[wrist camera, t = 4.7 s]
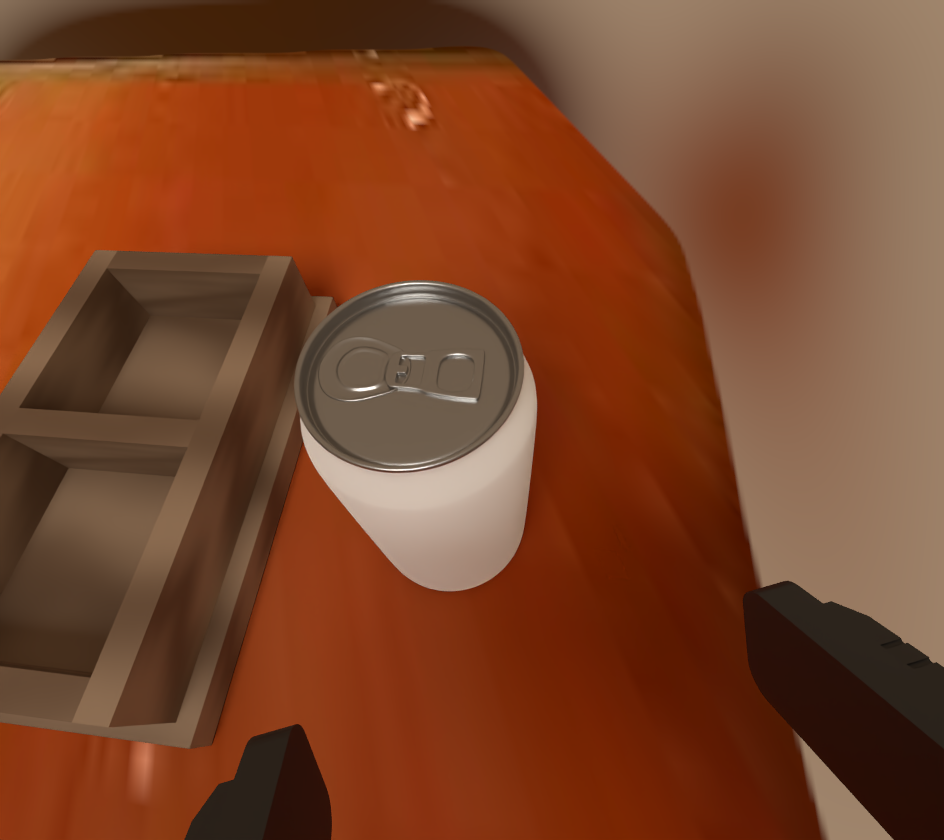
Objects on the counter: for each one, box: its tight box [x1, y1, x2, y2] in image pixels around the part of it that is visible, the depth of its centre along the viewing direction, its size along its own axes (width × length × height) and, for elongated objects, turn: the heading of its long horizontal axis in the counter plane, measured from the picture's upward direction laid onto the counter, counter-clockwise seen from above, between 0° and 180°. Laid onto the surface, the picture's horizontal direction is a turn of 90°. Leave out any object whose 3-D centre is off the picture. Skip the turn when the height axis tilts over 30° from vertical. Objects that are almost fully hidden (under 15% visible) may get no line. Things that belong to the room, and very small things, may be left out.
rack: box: [0, 250, 337, 749], centre depth 22 cm, size 21×12×5 cm, turn 174°
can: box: [294, 280, 537, 591], centre depth 17 cm, size 6×6×12 cm
